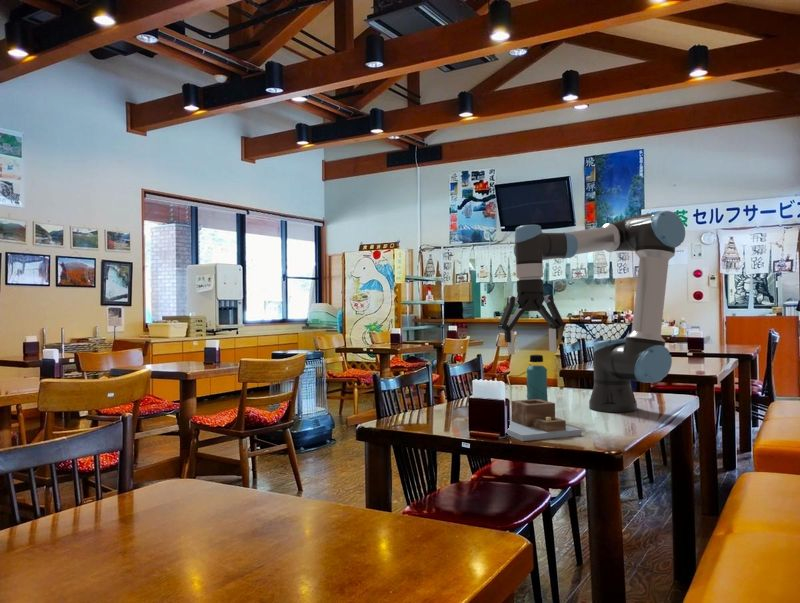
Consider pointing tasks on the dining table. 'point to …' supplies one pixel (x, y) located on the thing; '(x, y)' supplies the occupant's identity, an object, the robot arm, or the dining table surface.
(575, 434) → the post board
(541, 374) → the beverage bottle
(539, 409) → the stepped wooden block
